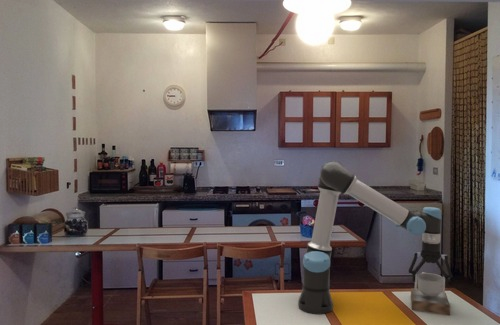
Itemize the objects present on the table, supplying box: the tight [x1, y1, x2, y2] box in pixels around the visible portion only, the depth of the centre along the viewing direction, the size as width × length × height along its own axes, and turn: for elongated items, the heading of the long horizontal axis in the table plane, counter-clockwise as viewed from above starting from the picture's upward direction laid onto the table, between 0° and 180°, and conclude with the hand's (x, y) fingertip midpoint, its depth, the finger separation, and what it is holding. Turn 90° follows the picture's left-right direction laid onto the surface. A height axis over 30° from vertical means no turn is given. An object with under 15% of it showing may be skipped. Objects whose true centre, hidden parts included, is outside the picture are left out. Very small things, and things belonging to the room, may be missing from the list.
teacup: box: [417, 271, 444, 296], centre depth 185 cm, size 14×11×8 cm
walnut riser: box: [410, 288, 451, 316], centre depth 185 cm, size 15×17×4 cm
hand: (429, 290), depth 185 cm, fingers closed on teacup, 11 cm apart
